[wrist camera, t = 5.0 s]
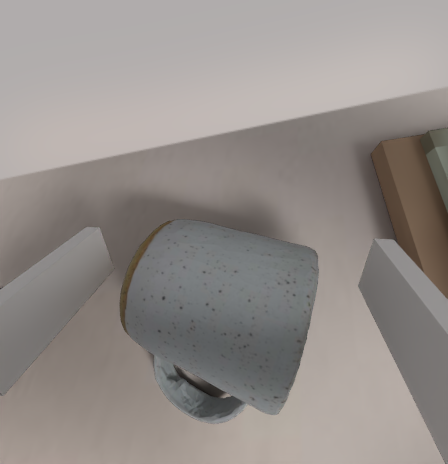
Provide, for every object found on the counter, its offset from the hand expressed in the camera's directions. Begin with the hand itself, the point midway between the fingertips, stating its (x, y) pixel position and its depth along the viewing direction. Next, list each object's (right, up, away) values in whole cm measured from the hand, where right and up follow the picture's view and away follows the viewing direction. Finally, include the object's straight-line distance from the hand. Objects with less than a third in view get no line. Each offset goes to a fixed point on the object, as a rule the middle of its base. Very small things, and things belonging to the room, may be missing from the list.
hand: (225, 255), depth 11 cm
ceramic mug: (0, -5, +4) cm, 6 cm away
